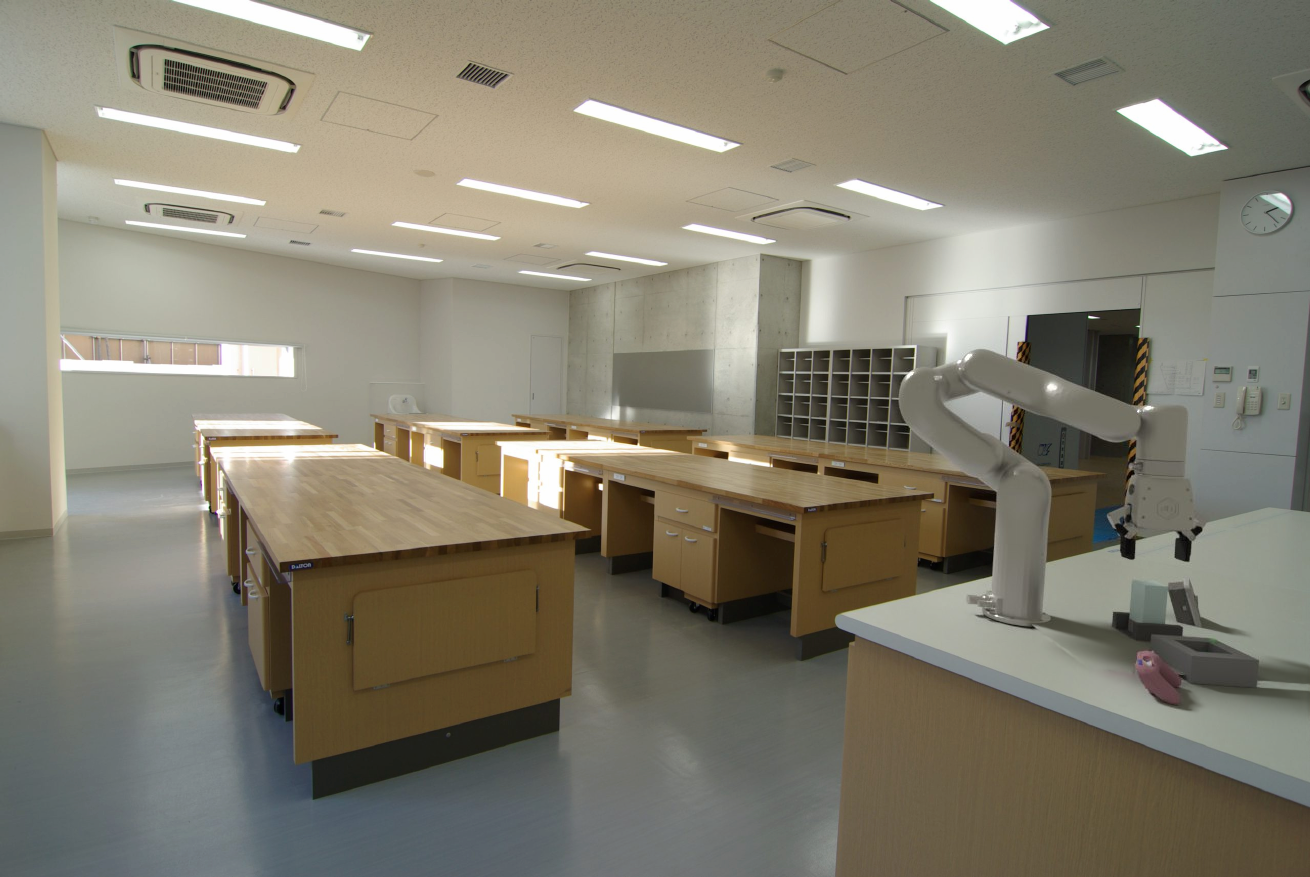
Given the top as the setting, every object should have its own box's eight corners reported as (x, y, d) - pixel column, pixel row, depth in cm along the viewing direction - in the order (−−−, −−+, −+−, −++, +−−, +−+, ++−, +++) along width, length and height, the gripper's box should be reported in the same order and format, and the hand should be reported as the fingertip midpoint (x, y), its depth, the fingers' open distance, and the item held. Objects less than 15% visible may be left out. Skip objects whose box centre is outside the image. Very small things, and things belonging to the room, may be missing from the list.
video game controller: (1151, 689, 107) (1130, 646, 109) (1184, 684, 105) (1162, 640, 106) (1148, 710, 100) (1126, 663, 101) (1183, 705, 97) (1160, 657, 99)
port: (1189, 683, 107) (1192, 653, 106) (1149, 659, 116) (1151, 631, 116) (1256, 687, 106) (1259, 657, 105) (1210, 663, 116) (1212, 635, 115)
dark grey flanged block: (1136, 645, 123) (1137, 624, 123) (1110, 630, 131) (1112, 611, 131) (1182, 648, 123) (1183, 627, 122) (1153, 633, 130) (1155, 613, 130)
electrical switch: (1202, 633, 132) (1200, 586, 132) (1169, 629, 135) (1167, 583, 136) (1201, 622, 140) (1199, 578, 140) (1170, 618, 143) (1168, 575, 143)
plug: (1141, 637, 125) (1145, 585, 124) (1127, 630, 129) (1131, 579, 128) (1164, 638, 125) (1168, 586, 124) (1150, 631, 129) (1154, 580, 128)
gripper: (1123, 470, 122) (1118, 562, 123) (1223, 472, 120) (1218, 565, 121) (1099, 466, 130) (1095, 553, 130) (1194, 469, 128) (1189, 556, 129)
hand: (1154, 559), depth 126 cm, fingers open, 9 cm apart
